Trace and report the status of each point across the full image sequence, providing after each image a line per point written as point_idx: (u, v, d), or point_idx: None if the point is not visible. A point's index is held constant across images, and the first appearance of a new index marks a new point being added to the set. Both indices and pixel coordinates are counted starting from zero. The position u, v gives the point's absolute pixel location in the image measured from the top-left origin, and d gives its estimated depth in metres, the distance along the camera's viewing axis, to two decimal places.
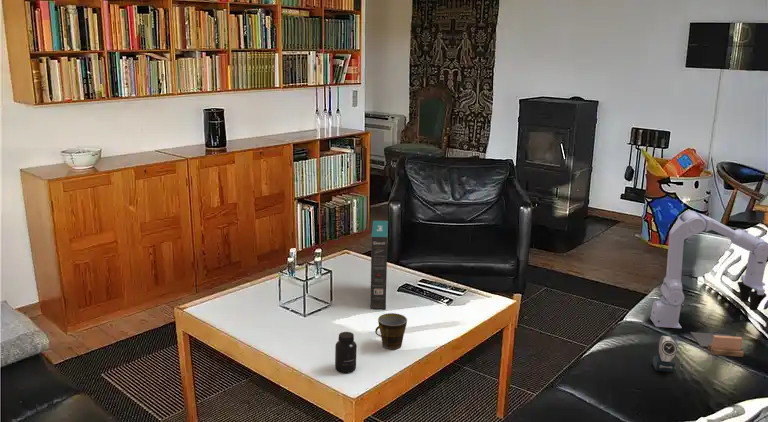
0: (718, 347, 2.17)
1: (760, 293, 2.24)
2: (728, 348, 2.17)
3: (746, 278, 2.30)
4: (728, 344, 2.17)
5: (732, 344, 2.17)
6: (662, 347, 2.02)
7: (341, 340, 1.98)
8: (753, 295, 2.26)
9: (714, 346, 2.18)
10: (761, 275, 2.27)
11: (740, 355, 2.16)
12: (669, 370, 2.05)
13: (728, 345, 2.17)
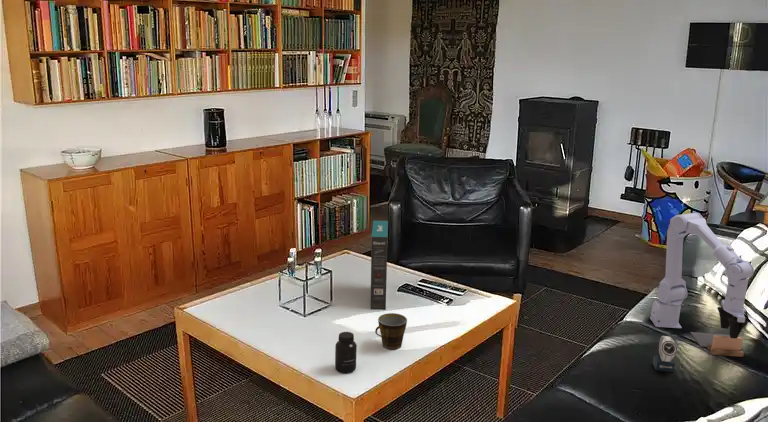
0: (718, 347, 2.17)
1: (740, 320, 2.07)
2: (728, 348, 2.17)
3: (726, 304, 2.13)
4: (728, 344, 2.17)
5: (732, 344, 2.17)
6: (662, 347, 2.02)
7: (341, 340, 1.98)
8: (733, 322, 2.09)
9: (714, 346, 2.18)
10: (742, 301, 2.10)
11: (740, 355, 2.16)
12: (669, 370, 2.05)
13: (728, 345, 2.17)
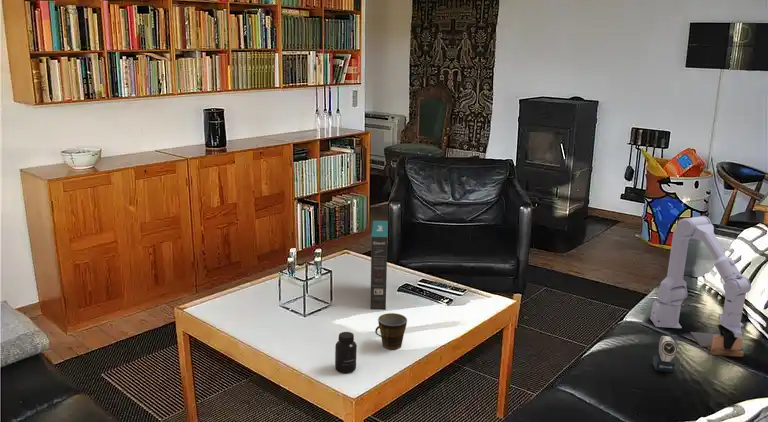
0: (718, 347, 2.17)
1: (737, 336, 2.09)
2: None
3: (723, 318, 2.15)
4: None
5: None
6: (662, 347, 2.02)
7: (341, 340, 1.98)
8: (727, 334, 2.13)
9: (714, 346, 2.18)
10: (739, 316, 2.12)
11: (740, 355, 2.16)
12: (669, 370, 2.05)
13: None
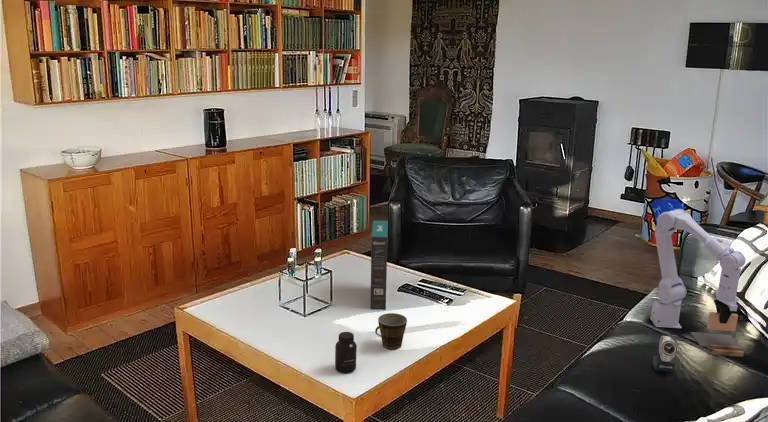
0: (714, 324, 2.22)
1: (733, 309, 2.13)
2: (724, 325, 2.22)
3: (719, 293, 2.19)
4: None
5: (728, 321, 2.21)
6: (662, 347, 2.02)
7: (341, 340, 1.98)
8: (722, 308, 2.18)
9: (710, 323, 2.22)
10: (734, 290, 2.16)
11: (740, 355, 2.16)
12: (669, 370, 2.05)
13: None
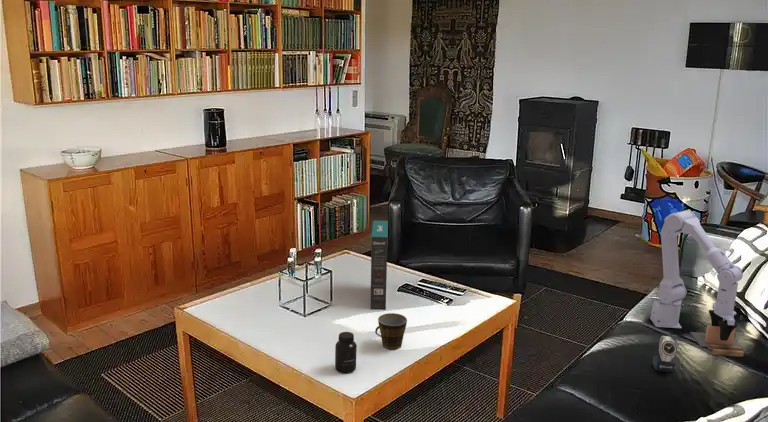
0: (712, 337, 2.24)
1: (730, 323, 2.15)
2: None
3: (716, 307, 2.21)
4: None
5: None
6: (662, 347, 2.02)
7: (341, 340, 1.98)
8: (723, 325, 2.17)
9: (708, 336, 2.24)
10: (732, 304, 2.18)
11: (740, 355, 2.16)
12: (669, 370, 2.05)
13: None
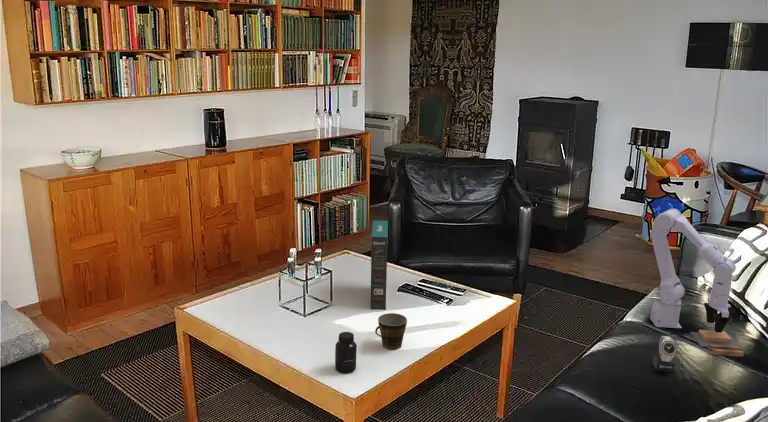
0: (707, 334, 2.27)
1: (724, 315, 2.20)
2: (717, 335, 2.27)
3: (711, 300, 2.25)
4: (715, 333, 2.28)
5: (718, 333, 2.28)
6: (662, 347, 2.02)
7: (341, 340, 1.98)
8: (718, 317, 2.21)
9: (703, 334, 2.28)
10: (726, 297, 2.23)
11: (740, 355, 2.16)
12: (669, 370, 2.05)
13: (715, 333, 2.28)
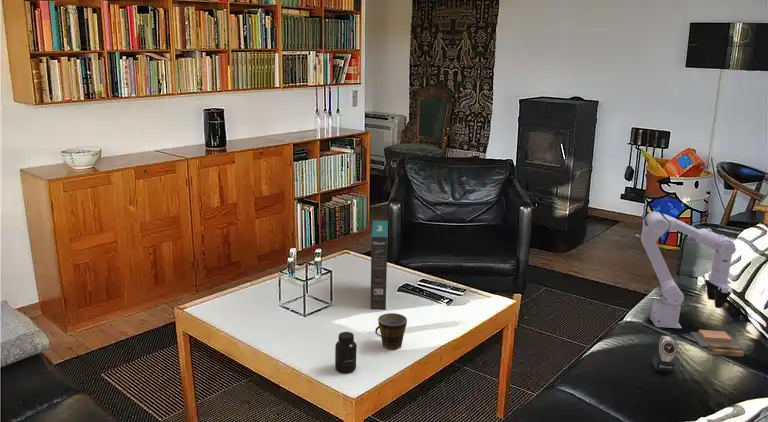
0: (707, 334, 2.27)
1: (724, 291, 2.26)
2: (717, 335, 2.27)
3: (711, 276, 2.32)
4: (715, 333, 2.28)
5: (718, 333, 2.28)
6: (662, 347, 2.02)
7: (341, 340, 1.98)
8: (717, 293, 2.27)
9: (703, 334, 2.28)
10: (726, 273, 2.29)
11: (740, 355, 2.16)
12: (669, 370, 2.05)
13: (715, 333, 2.28)
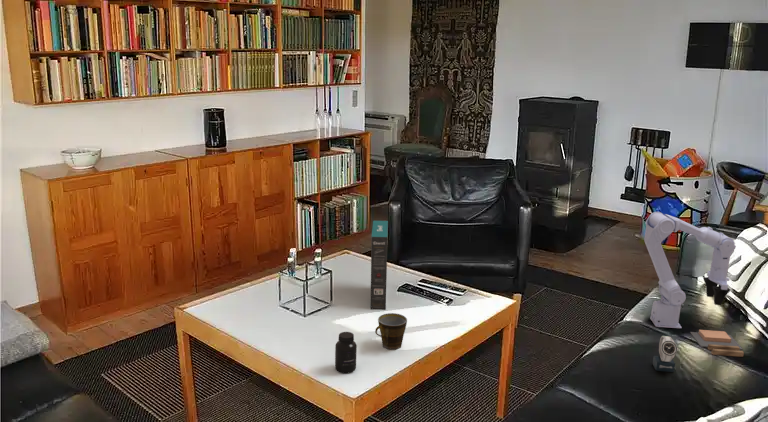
0: (707, 334, 2.27)
1: (723, 288, 2.29)
2: (717, 335, 2.27)
3: (711, 273, 2.34)
4: (715, 333, 2.28)
5: (718, 333, 2.28)
6: (662, 347, 2.02)
7: (341, 340, 1.98)
8: (717, 290, 2.30)
9: (703, 334, 2.28)
10: (725, 270, 2.31)
11: (740, 355, 2.16)
12: (669, 370, 2.05)
13: (715, 333, 2.28)
